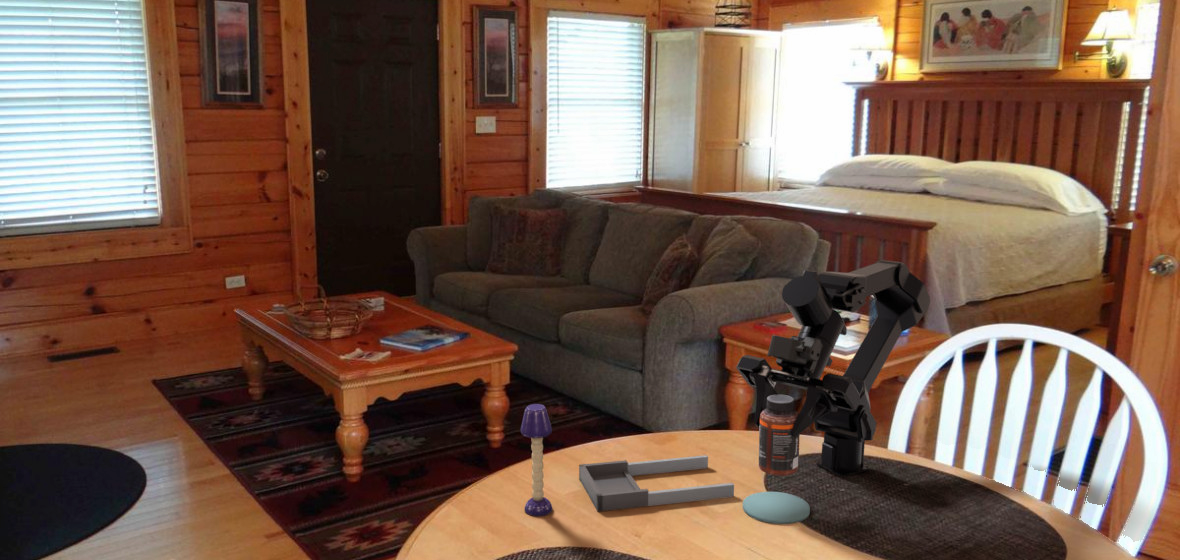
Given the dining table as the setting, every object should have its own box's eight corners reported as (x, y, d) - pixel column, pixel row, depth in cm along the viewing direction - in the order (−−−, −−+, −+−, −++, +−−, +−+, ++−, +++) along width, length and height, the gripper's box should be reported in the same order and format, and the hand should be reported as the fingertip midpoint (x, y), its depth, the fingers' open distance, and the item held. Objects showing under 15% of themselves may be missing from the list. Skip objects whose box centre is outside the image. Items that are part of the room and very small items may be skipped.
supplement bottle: (806, 473, 142) (809, 401, 140) (772, 480, 140) (775, 407, 137) (783, 459, 147) (786, 389, 145) (750, 465, 145) (752, 395, 143)
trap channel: (706, 466, 161) (706, 452, 160) (733, 496, 149) (734, 481, 149) (579, 479, 156) (579, 464, 155) (597, 511, 144) (597, 496, 144)
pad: (780, 490, 151) (780, 486, 151) (823, 514, 143) (823, 511, 143) (729, 503, 147) (729, 499, 147) (771, 529, 138) (771, 525, 138)
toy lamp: (555, 516, 143) (554, 410, 139) (524, 519, 142) (522, 412, 138) (549, 502, 147) (548, 399, 144) (519, 505, 146) (517, 402, 143)
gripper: (744, 304, 148) (701, 390, 142) (855, 324, 135) (812, 419, 130) (770, 342, 155) (730, 425, 149) (877, 365, 143) (838, 456, 137)
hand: (774, 430), depth 141 cm, fingers closed on supplement bottle, 6 cm apart
